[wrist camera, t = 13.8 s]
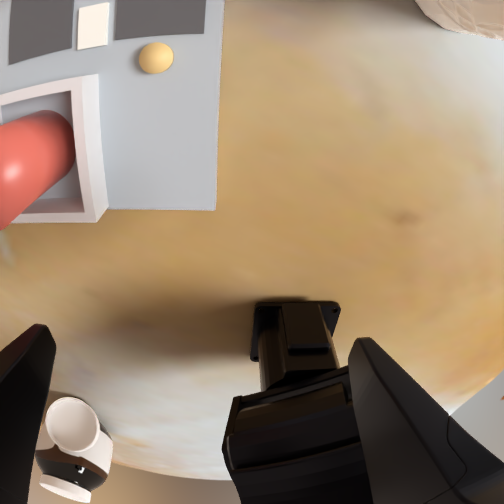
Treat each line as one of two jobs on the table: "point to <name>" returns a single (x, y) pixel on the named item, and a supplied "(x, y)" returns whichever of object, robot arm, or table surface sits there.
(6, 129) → the pink cylinder with nub
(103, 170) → the panel
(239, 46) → the table surface
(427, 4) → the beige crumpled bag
